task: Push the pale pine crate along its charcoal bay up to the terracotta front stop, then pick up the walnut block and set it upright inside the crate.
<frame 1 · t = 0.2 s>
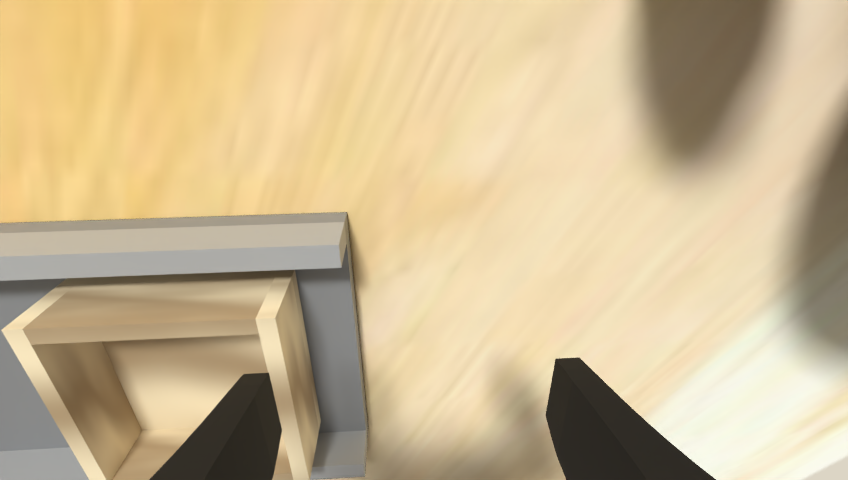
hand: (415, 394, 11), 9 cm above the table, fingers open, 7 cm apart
crate: (194, 384, 19), point 3 cm above the table, slide at 8.0 cm
bay: (135, 345, 21), on the table
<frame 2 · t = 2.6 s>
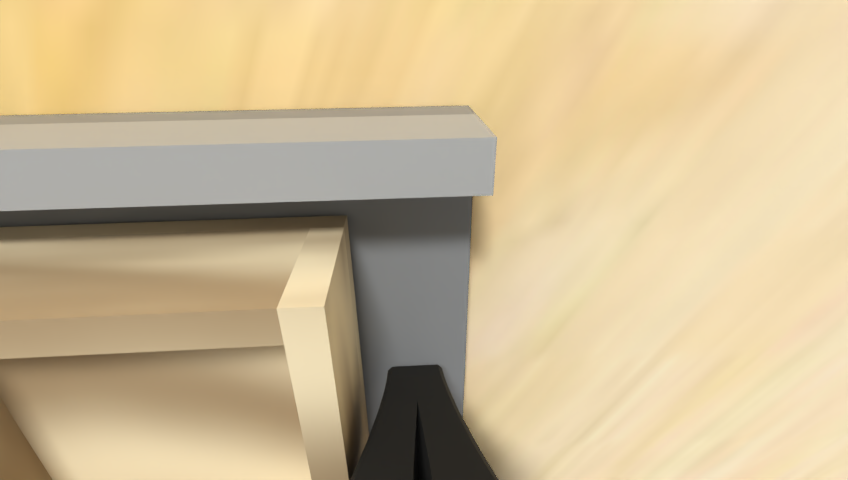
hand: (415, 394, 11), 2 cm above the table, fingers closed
crate: (152, 439, 10), point 3 cm above the table, slide at 7.5 cm, touching gripper
bay: (75, 361, 12), on the table
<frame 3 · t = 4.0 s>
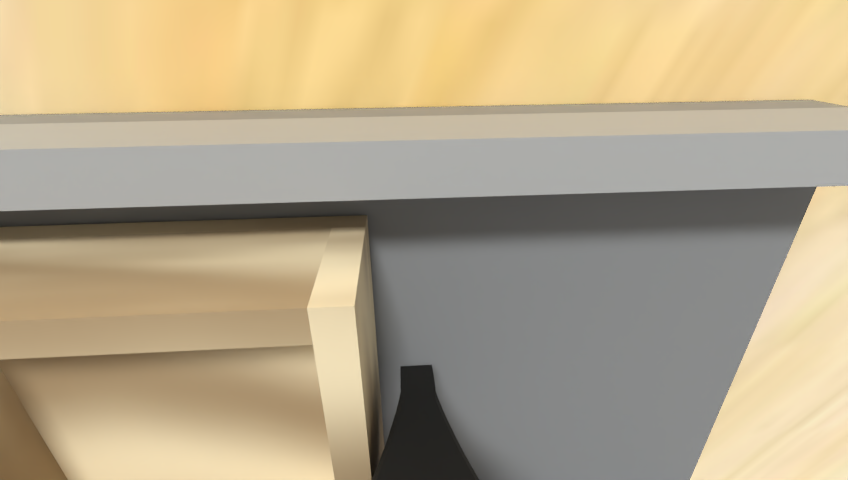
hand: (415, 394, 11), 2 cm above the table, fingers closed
crate: (171, 439, 10), point 3 cm above the table, slide at -0.1 cm, touching gripper
bay: (359, 347, 12), on the table
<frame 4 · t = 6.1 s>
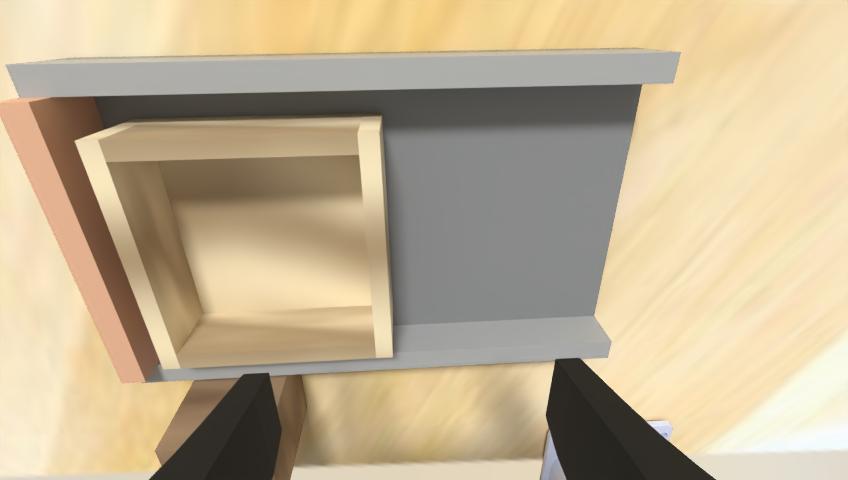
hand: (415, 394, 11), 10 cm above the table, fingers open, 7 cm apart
walnut block: (261, 379, 24), on the table
crate: (270, 244, 17), point 3 cm above the table, slide at 0.0 cm
bay: (373, 212, 20), on the table
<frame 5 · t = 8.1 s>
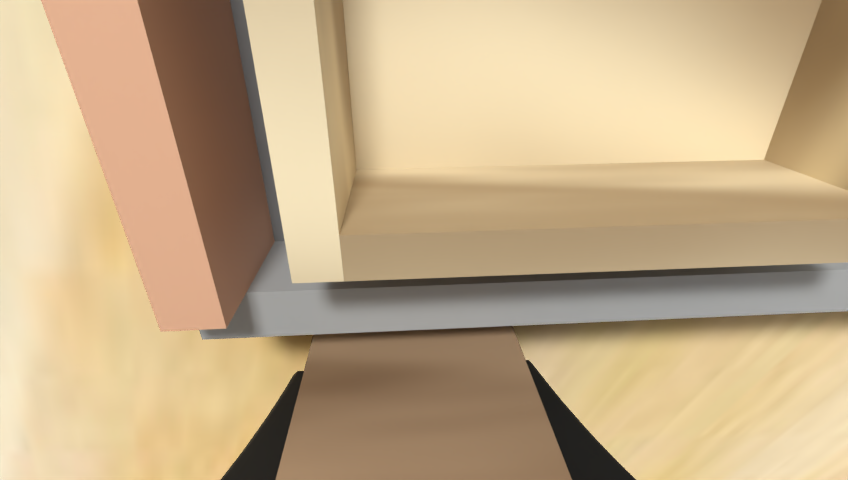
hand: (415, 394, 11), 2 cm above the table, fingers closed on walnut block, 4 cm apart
walnut block: (412, 351, 12), on the table, touching gripper
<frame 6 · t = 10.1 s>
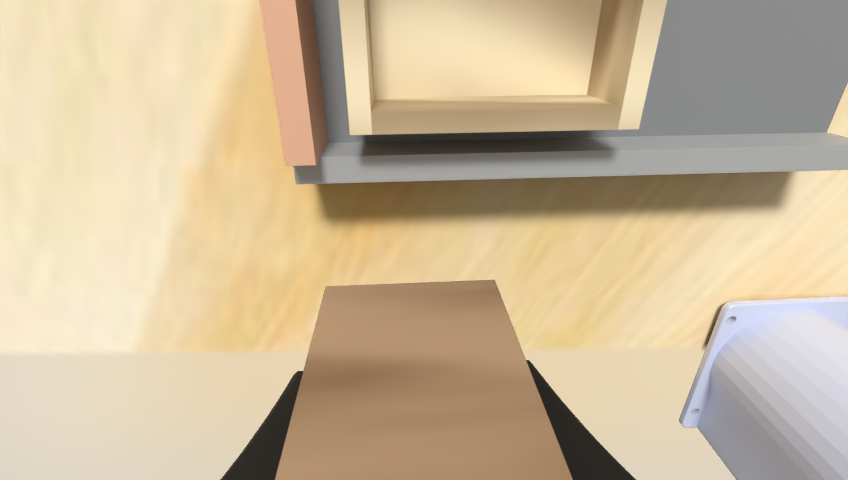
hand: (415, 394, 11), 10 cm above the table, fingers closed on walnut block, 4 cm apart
walnut block: (412, 348, 12), point 9 cm above the table, touching gripper
when the fingers open (5 cm above the table, at t = 12.5 s): walnut block drops 2 cm, resting on crate.
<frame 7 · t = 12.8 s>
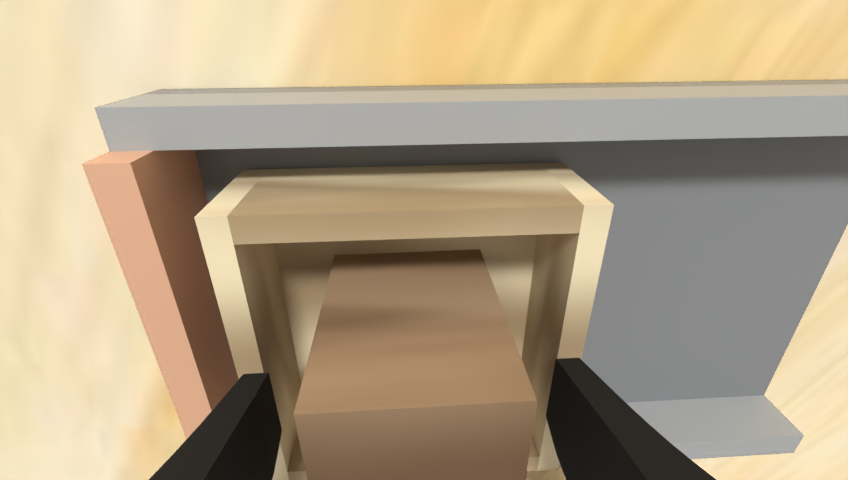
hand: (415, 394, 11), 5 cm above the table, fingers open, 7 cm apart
walnut block: (410, 311, 14), point 2 cm above the table, touching crate
crate: (411, 329, 13), point 3 cm above the table, slide at 0.0 cm, touching walnut block
bay: (516, 276, 16), on the table
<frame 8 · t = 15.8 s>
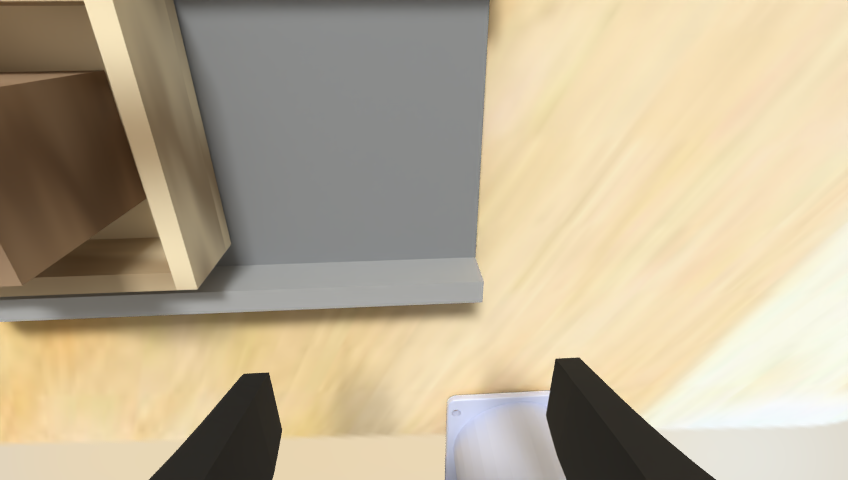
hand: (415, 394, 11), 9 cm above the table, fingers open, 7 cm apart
walnut block: (60, 140, 15), point 2 cm above the table, touching crate
crate: (35, 144, 14), point 3 cm above the table, slide at 0.0 cm, touching walnut block
bay: (197, 124, 17), on the table
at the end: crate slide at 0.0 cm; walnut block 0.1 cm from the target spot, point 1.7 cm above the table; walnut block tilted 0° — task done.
